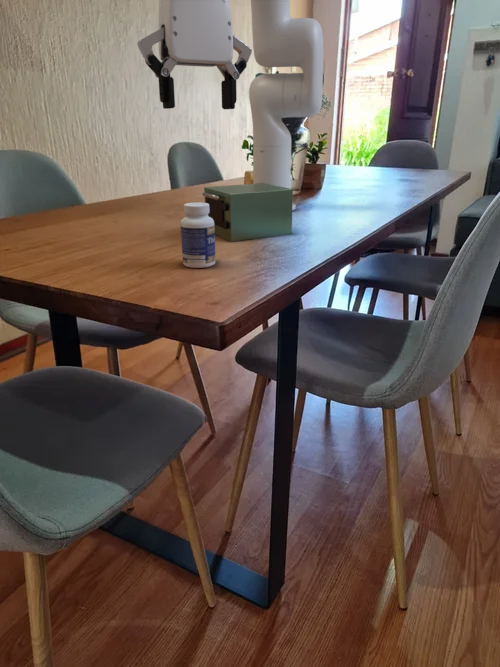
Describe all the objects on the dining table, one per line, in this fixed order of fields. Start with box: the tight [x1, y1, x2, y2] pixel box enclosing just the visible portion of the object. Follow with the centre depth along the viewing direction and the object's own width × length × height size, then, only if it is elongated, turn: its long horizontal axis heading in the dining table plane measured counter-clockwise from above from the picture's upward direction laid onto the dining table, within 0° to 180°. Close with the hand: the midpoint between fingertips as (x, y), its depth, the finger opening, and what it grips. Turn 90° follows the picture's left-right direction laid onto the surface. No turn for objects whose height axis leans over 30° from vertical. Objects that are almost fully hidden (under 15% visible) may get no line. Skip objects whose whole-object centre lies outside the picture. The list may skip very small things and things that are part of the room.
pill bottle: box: [180, 201, 216, 269], centre depth 82 cm, size 5×5×10 cm
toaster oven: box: [202, 183, 294, 243], centre depth 105 cm, size 12×15×9 cm
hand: (199, 108), depth 76 cm, fingers open, 9 cm apart
